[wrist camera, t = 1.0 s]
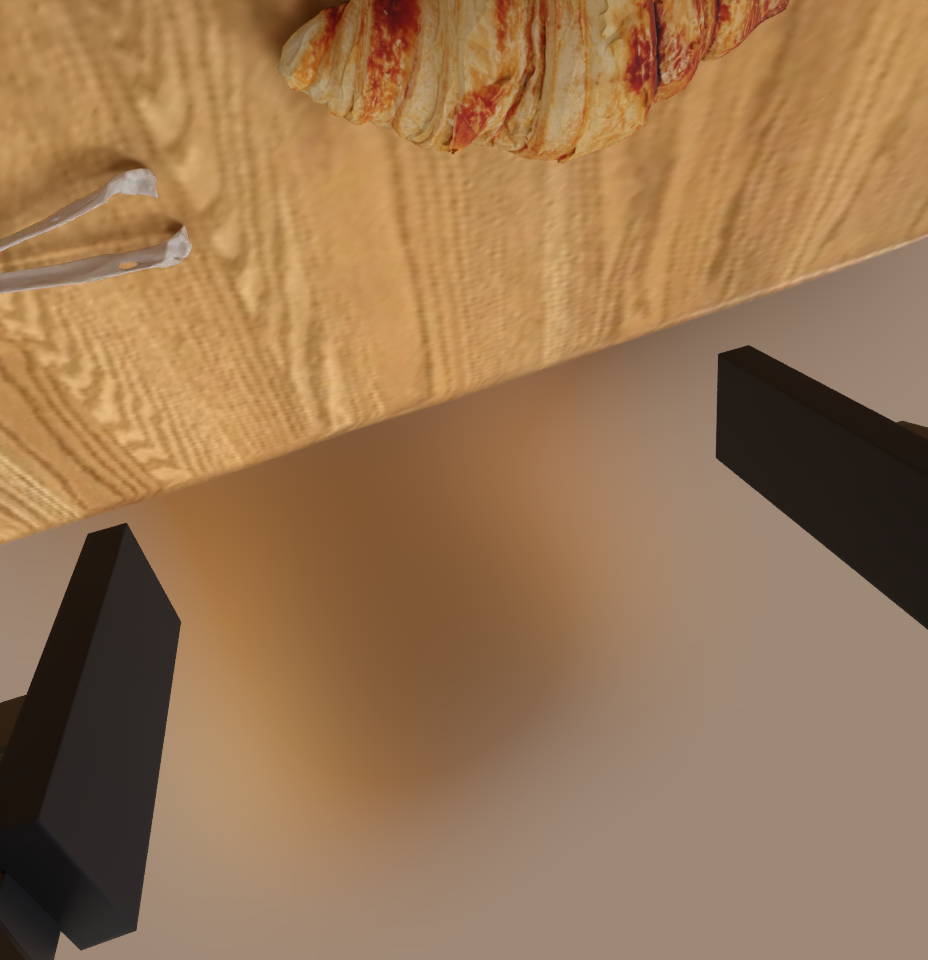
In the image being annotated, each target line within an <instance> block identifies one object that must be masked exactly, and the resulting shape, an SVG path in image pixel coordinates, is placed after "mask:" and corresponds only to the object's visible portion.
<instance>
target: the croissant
mask: <svg viewBox="0 0 928 960" xmlns="http://www.w3.org/2000/svg"><path fill="white" fill-rule="evenodd" d="M788 3H789V0H351V1H350V2H349V4H343V3H342V4H341V5H340V7H330V8H327V9H324V10H322V11H321V12H320V13H319V14H318V15H317V16H315V17H314V18H313V19H311V20H310V21H308V22H307V23H305V24H304V25H303V26H302V27H301V28H299V29H298V30H297V31H296V32H295V33H293V35H292V36H291V37H290V38H289V40H288V41H287V42H286V43H285V45H284V46H283V47H282V55H281V59H280V63H279V66H278V69H279V71H280V73H281V75H282V77H283V79H284V81H285V82H286V83H287V84H288V86H289V87H290V88H292V89H293V90H297V91H301V92H304V93H306V94H307V95H309V97H310V98H311V100H312V101H314V102H315V103H319V104H324V105H327V108H328V112H329V113H330V114H333V115H336V116H339V117H344V118H345V119H347V120H348V121H349V122H351V123H353V124H355V125H361V124H363V123H366V122H368V121H371V122H372V123H374V124H375V125H382V126H385V127H388V128H391V129H395V131H396V132H397V134H398V135H399V136H400V137H403V138H406V139H407V141H411V142H413V143H414V144H415V145H417V146H419V147H422V148H430V147H434V148H435V149H436V150H437V151H448V152H451V151H452V154H455V153H457V152H459V151H460V150H462V149H463V148H465V147H466V146H468V145H469V144H470V143H472V144H474V145H476V146H483V145H484V144H486V145H487V146H488V147H496V148H501V149H504V150H507V151H509V152H511V153H513V154H516V155H518V156H520V157H523V158H527V159H534V160H544V161H549V160H558V163H560V162H561V163H562V164H563V163H564V162H566V161H567V160H570V159H572V158H574V157H578V156H582V155H585V154H588V153H593V152H595V151H596V150H598V149H601V148H605V147H609V146H611V145H613V144H615V143H617V142H619V141H621V140H623V139H625V138H626V137H628V136H630V135H631V134H633V133H635V132H636V131H638V130H639V129H640V127H641V126H645V124H646V123H647V119H648V112H649V109H650V106H651V105H653V104H655V103H656V102H657V101H659V100H664V99H668V98H670V97H671V96H673V95H675V94H677V93H678V92H680V91H682V90H683V89H685V87H686V86H687V85H688V83H689V82H690V80H691V79H692V78H693V76H694V74H695V71H696V69H697V66H698V64H699V62H700V60H703V61H704V62H705V61H709V60H714V59H717V58H720V57H722V56H724V55H726V54H727V53H729V52H730V51H731V50H733V49H734V48H736V47H737V46H739V45H740V44H741V43H742V42H743V41H744V40H745V38H746V37H747V36H748V35H749V34H750V33H751V32H752V31H753V30H754V29H755V28H756V27H757V26H758V25H759V24H760V23H762V22H763V21H765V20H766V19H768V18H770V17H773V16H775V15H777V14H778V13H780V12H782V11H784V10H785V9H786V7H787V5H788Z"/></svg>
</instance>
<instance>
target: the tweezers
mask: <svg viewBox="0 0 928 960" xmlns="http://www.w3.org/2000/svg"><path fill="white" fill-rule="evenodd" d="M156 185H157V179H156V177H155V176H154V175H153V174H152V172H151V171H150V170H149V169H147V168H146V169H142V168H140V169H132V170H129V171H125V172H122V173H120V174H119V175H117V176H115V177H114V178H112V179H111V180H110V181H109V182H108V183H106V184H105V185H104V186H103V187H101V188H99V189H98V190H96V191H94V192H93V193H91V194H89V195H88V196H86V197H84V198H81V199H79V200H76V201H74V202H73V203H71V204H69V205H67V206H66V207H64V208H62V209H60V210H59V211H57V212H55V213H54V214H52V215H50V216H49V217H47V218H45V219H44V220H42V221H40V222H37V223H35V224H33V225H31V226H30V227H27V228H25V229H23V230H21V231H19V232H16V233H14V234H12V235H10V236H8V237H5V238H3V239H1V240H0V252H1V251H3V250H5V249H7V248H9V247H11V246H14V245H16V244H18V243H20V242H22V241H24V240H26V239H29V238H31V237H34V236H36V235H39V234H42V233H45V232H47V231H49V230H52V229H54V228H56V227H59V226H61V225H63V224H65V223H67V222H69V221H71V220H73V219H75V218H77V217H79V216H81V215H83V214H85V213H87V212H88V211H90V210H91V209H93V208H96V207H98V206H99V205H102V204H105V203H106V202H107V201H108V198H110V197H111V196H112V195H114V194H116V193H123V194H128V195H133V194H136V195H145V194H146V195H149V196H152V197H155V198H157V197H158V193H157V191H156ZM191 247H192V245H191V243H190V242H189V238H188V234H187V231H186V228H185V226H184V225H183V226H182V227H181V229H180V230H179V231H178V232H177V233H176V234H175V235H174V236H173V237H172V238H171V239H169V240H168V241H166V242H164V243H161V244H159V245H156V246H153V247H149V248H144V249H139V250H134V251H129V252H124V253H118V254H106V255H99V256H95V257H91V258H86V259H82V260H77V261H73V262H68V263H63V264H57V265H51V266H44V267H38V268H32V269H26V270H19V271H12V272H5V273H0V294H3V293H10V292H17V291H25V290H34V289H41V288H49V287H56V286H64V285H72V284H80V283H88V282H93V281H98V280H101V279H106V278H109V277H113V276H118V275H122V274H125V273H130V272H135V271H139V270H144V269H150V268H155V267H160V268H166V267H169V266H171V265H175V264H181V263H182V262H183V261H182V259H183V258H186V257H187V256H188V255H189V253H190V251H191ZM128 262H136V263H138V264H137V266H135V267H132V268H130V269H121V268H119V267H118V266H119V265H120V264H123V263H128Z"/></svg>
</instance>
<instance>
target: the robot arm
mask: <svg viewBox="0 0 928 960" xmlns="http://www.w3.org/2000/svg"><path fill="white" fill-rule="evenodd" d="M717 384H718V385H717V429H716V458H717V459H718V460H719V461H720V462H722V463H723V464H724V465H725V466H727V467H728V468H729V469H730V470H732V471H733V472H734V473H735V474H736V475H738V476H739V477H740V478H741V479H743V480H744V481H745V482H746V483H748V484H749V485H750V486H751V487H752V488H754V489H755V490H756V491H757V492H759V493H760V494H761V495H762V496H764V497H765V498H766V499H767V500H769V501H770V502H771V503H772V504H773V505H775V506H776V507H777V508H778V509H780V510H781V511H782V512H783V513H785V514H786V515H787V516H788V517H789V518H791V519H792V520H793V521H794V522H796V523H797V524H798V525H799V526H801V527H802V528H803V529H804V530H806V531H807V532H808V533H809V534H810V535H812V536H813V537H814V538H815V539H817V540H818V541H819V542H820V543H822V544H823V545H824V546H825V547H826V548H828V549H829V550H830V551H831V552H833V553H834V554H835V555H836V556H838V557H839V558H840V559H841V560H842V561H844V562H845V563H846V564H848V565H849V566H850V567H851V568H852V569H854V570H855V571H856V572H857V573H859V574H860V575H861V576H862V577H864V578H865V579H866V580H867V581H868V582H870V583H871V584H872V585H873V586H875V587H876V588H877V589H878V590H879V591H881V592H882V593H883V594H885V595H886V596H887V597H888V598H889V599H891V600H892V601H893V602H895V603H896V604H897V605H898V606H899V607H900V608H902V609H903V610H904V611H905V612H907V613H908V614H909V615H910V616H912V617H913V618H914V619H915V620H917V621H918V622H919V623H920V624H921V625H923V626H924V627H925V628H926V629H928V427H924V426H920V425H916V424H912V423H908V422H905V421H900V422H897V423H896V422H894V421H892V420H890V419H888V418H886V417H884V416H882V415H880V414H878V413H877V412H875V411H873V410H871V409H869V408H867V407H865V406H863V405H861V404H860V403H858V402H856V401H854V400H852V399H850V398H848V397H846V396H844V395H842V394H841V393H839V392H837V391H835V390H833V389H831V388H829V387H827V386H825V385H823V384H822V383H820V382H818V381H816V380H814V379H812V378H810V377H808V376H806V375H805V374H803V373H801V372H799V371H797V370H795V369H793V368H791V367H789V366H787V365H785V364H784V363H782V362H780V361H778V360H776V359H774V358H772V357H770V356H768V355H766V354H765V353H763V352H761V351H759V350H757V349H755V348H753V347H751V346H749V345H748V346H744V347H741V348H737V349H734V350H730V351H727V352H723V353H720V354H718V383H717ZM180 625H181V621H180V619H179V617H178V615H177V613H176V612H175V610H174V608H173V606H172V604H171V602H170V601H169V599H168V597H167V595H166V593H165V591H164V590H163V588H162V586H161V584H160V582H159V581H158V579H157V577H156V575H155V573H154V571H153V570H152V568H151V566H150V564H149V562H148V561H147V559H146V557H145V555H144V553H143V551H142V550H141V548H140V546H139V544H138V542H137V541H136V539H135V537H134V535H133V533H132V532H131V530H130V528H129V526H128V524H127V523H124V524H121V525H118V526H114V527H110V528H107V529H103V530H100V531H96V532H93V533H89V534H88V535H87V538H86V540H85V543H84V545H83V548H82V551H81V553H80V556H79V559H78V561H77V564H76V566H75V569H74V571H73V574H72V577H71V579H70V582H69V585H68V587H67V590H66V592H65V595H64V598H63V600H62V603H61V606H60V608H59V611H58V613H57V616H56V619H55V621H54V624H53V627H52V630H51V632H50V634H49V637H48V640H47V642H46V645H45V648H44V650H43V653H42V655H41V658H40V661H39V663H38V666H37V669H36V671H35V674H34V677H33V679H32V682H31V684H30V687H29V690H28V692H27V695H24V696H21V697H17V698H14V699H11V700H8V701H4V702H1V703H0V960H54V957H55V953H56V948H57V944H58V940H59V936H60V931H61V932H63V933H64V934H65V935H66V937H68V939H70V940H71V941H72V942H73V943H74V944H75V945H76V946H77V947H78V948H79V949H80V950H83V949H86V948H89V947H92V946H95V945H97V944H100V943H103V942H106V941H109V940H112V939H114V938H117V937H120V936H123V935H125V934H128V933H131V932H134V931H136V929H137V922H138V915H139V908H140V901H141V895H142V887H143V881H144V874H145V867H146V859H147V853H148V846H149V839H150V832H151V825H152V819H153V812H154V805H155V798H156V790H157V784H158V777H159V769H160V763H161V755H162V749H163V742H164V736H165V729H166V721H167V715H168V708H169V701H170V694H171V687H172V680H173V673H174V666H175V659H176V652H177V645H178V639H179V632H180Z"/></svg>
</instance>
